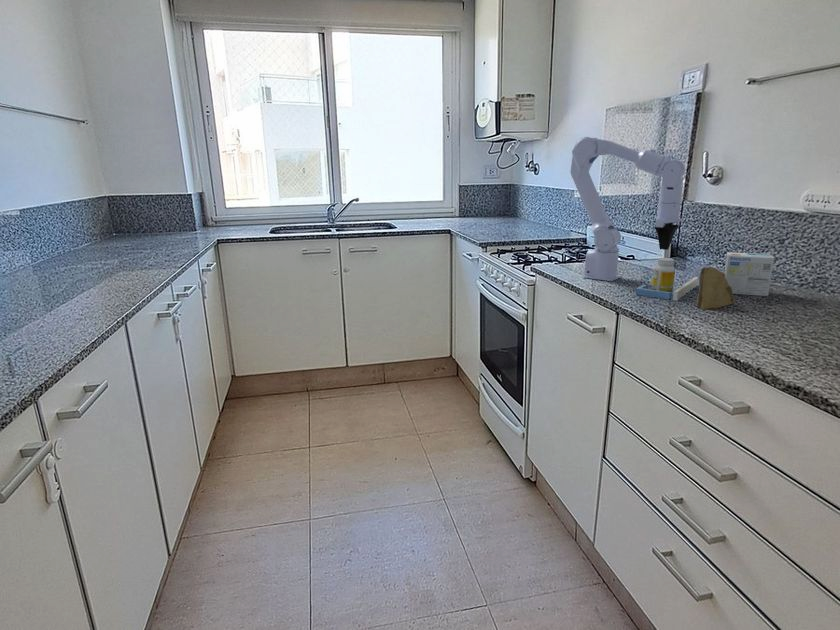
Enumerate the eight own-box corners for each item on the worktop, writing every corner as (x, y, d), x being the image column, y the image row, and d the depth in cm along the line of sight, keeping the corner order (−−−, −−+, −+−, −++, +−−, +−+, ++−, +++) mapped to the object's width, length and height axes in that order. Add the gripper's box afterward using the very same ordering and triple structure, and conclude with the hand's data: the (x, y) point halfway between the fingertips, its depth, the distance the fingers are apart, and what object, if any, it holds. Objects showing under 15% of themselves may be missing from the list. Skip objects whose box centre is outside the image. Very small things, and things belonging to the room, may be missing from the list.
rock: (730, 291, 134) (690, 285, 136) (746, 270, 127) (703, 264, 129) (734, 324, 128) (693, 317, 130) (751, 304, 121) (706, 297, 123)
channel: (633, 294, 142) (634, 286, 141) (657, 280, 157) (658, 273, 156) (676, 300, 135) (677, 291, 134) (697, 285, 150) (698, 277, 149)
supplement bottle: (647, 292, 144) (651, 258, 141) (656, 288, 147) (660, 256, 144) (666, 295, 140) (671, 261, 137) (675, 292, 143) (680, 258, 140)
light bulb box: (764, 291, 142) (771, 253, 139) (768, 296, 136) (775, 257, 133) (720, 288, 147) (726, 251, 143) (723, 293, 141) (728, 255, 138)
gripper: (676, 205, 140) (670, 254, 144) (691, 201, 150) (685, 247, 154) (650, 204, 144) (644, 251, 148) (666, 200, 155) (661, 245, 158)
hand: (664, 249), depth 151 cm, fingers closed
